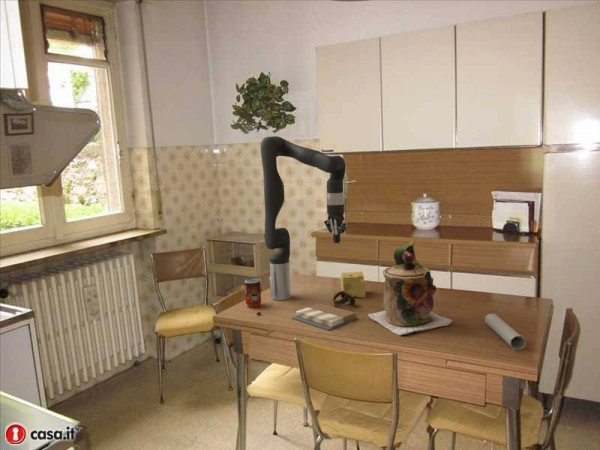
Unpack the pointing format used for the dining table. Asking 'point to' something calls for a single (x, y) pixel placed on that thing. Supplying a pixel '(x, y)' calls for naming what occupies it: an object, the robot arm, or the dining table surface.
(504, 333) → the tube
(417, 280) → the cookie jar
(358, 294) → the cheese
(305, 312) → the plank
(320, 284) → the dining table surface
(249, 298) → the soda can
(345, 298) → the pottery mug
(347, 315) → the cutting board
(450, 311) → the dining table surface
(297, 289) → the dining table surface
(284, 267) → the robot arm
